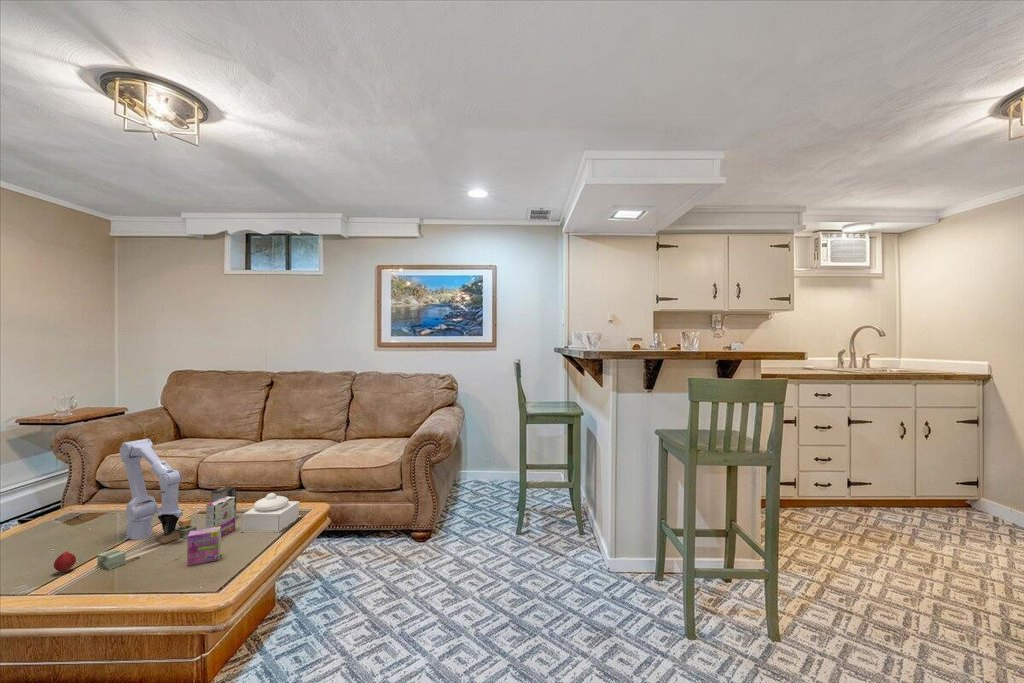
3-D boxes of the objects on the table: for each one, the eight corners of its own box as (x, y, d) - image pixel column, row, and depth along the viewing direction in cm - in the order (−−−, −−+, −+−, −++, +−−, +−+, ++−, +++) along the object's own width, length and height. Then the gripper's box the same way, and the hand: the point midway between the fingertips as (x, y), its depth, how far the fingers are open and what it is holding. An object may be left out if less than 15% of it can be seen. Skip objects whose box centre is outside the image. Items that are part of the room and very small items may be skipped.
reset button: (178, 530, 192) (178, 520, 193) (186, 528, 195) (186, 518, 196) (183, 531, 191) (183, 521, 192) (190, 529, 194) (191, 519, 194)
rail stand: (97, 566, 167) (97, 554, 167) (184, 534, 197) (184, 524, 197) (109, 569, 164) (110, 558, 164) (196, 536, 194) (196, 526, 194)
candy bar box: (226, 531, 200) (227, 495, 201) (235, 532, 200) (236, 496, 200) (204, 541, 190) (205, 504, 190) (214, 542, 189) (215, 504, 189)
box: (186, 566, 167) (187, 535, 168) (189, 560, 172) (190, 530, 173) (218, 560, 172) (219, 530, 172) (220, 554, 177) (221, 525, 177)
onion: (55, 577, 159) (56, 555, 159) (51, 573, 162) (52, 552, 162) (77, 570, 164) (78, 549, 164) (73, 566, 167) (73, 546, 167)
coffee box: (225, 517, 217) (225, 485, 218) (236, 518, 216) (237, 486, 217) (210, 524, 208) (210, 491, 209) (222, 525, 207) (222, 491, 208)
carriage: (155, 540, 185) (155, 526, 185) (170, 535, 191) (171, 521, 191) (164, 543, 183) (164, 527, 183) (179, 537, 189) (180, 522, 189)
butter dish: (264, 518, 217) (265, 486, 217) (299, 518, 216) (300, 487, 217) (241, 532, 199) (242, 498, 200) (279, 533, 199) (280, 498, 199)
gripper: (148, 500, 187) (148, 532, 186) (170, 504, 182) (169, 537, 181) (166, 495, 193) (165, 526, 193) (188, 499, 188) (187, 530, 188)
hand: (169, 531), depth 187 cm, fingers closed on carriage, 2 cm apart
